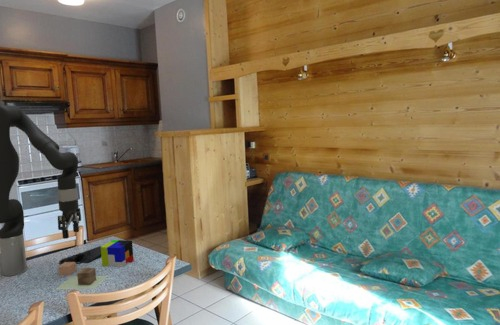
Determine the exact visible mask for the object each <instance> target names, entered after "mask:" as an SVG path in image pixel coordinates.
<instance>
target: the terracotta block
mask: <svg viewBox="0 0 500 325" xmlns="http://www.w3.org/2000/svg"><path fill="white" fill-rule="evenodd" d="M57 267H58V268H57V269H58V275H59V276H62V275H63V276H71V275H72V274H73V273H74V272H76V271H77V264H76V262H64V263H63V264H59V266H57Z"/></svg>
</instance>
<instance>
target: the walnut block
mask: <svg viewBox="0 0 500 325" xmlns="http://www.w3.org/2000/svg"><path fill="white" fill-rule="evenodd" d="M76 274H77V275H76V276H77V277H78V285H91V284H92V283H93V282H94V281H95V280H96V276H97V272H96V267H83V268H81V269H80V271H78V272H77V273H76Z"/></svg>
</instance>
